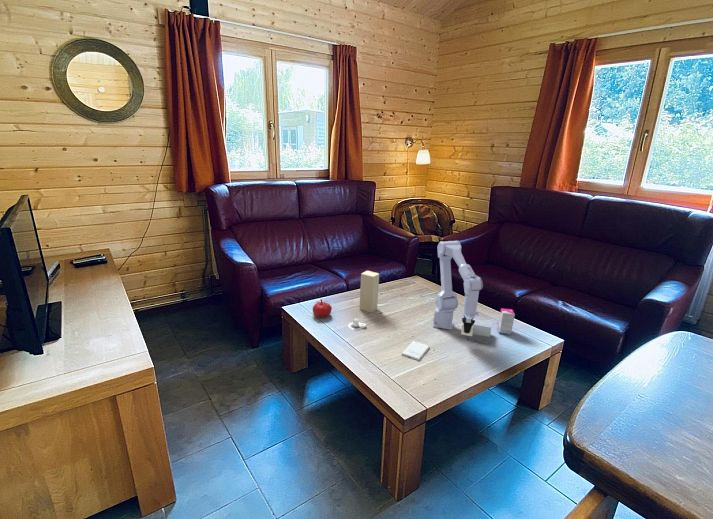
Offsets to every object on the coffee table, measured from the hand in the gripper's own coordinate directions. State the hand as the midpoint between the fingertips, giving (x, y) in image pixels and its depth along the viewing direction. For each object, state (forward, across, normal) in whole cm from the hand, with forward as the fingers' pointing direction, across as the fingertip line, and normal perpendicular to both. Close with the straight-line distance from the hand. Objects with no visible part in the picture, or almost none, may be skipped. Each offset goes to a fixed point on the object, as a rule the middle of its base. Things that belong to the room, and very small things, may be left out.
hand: (467, 329), depth 175 cm
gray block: (+8, +10, -6) cm, 14 cm away
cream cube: (+2, 0, 0) cm, 2 cm away
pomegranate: (+8, +4, +74) cm, 75 cm away
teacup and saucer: (+8, -3, +52) cm, 53 cm away
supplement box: (+8, +20, -18) cm, 28 cm away
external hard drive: (+8, -14, +21) cm, 27 cm away
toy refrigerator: (+8, +21, +53) cm, 58 cm away
